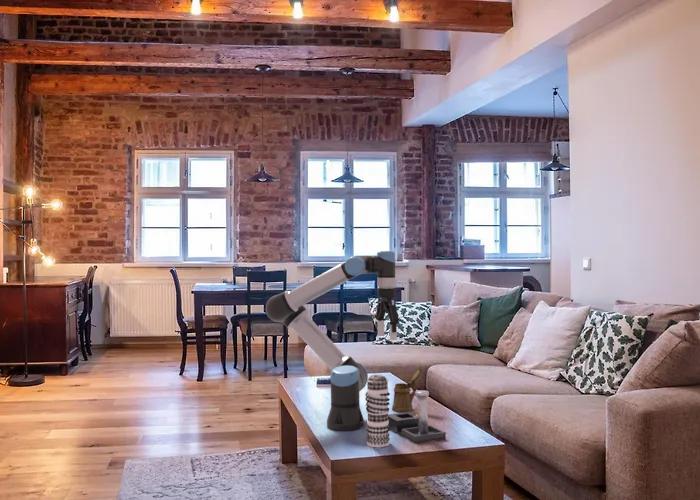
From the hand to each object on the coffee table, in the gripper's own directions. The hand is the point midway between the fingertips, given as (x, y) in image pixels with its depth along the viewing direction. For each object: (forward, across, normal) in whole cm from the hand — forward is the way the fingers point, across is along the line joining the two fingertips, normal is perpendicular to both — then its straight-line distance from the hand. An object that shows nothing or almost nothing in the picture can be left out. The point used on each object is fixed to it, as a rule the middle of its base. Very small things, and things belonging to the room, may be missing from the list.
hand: (387, 338), depth 274 cm
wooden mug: (+34, +12, -14) cm, 39 cm away
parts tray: (+34, -29, -3) cm, 45 cm away
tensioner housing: (+34, -15, -2) cm, 38 cm away
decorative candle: (+34, -30, +16) cm, 48 cm away
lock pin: (+33, -29, -3) cm, 44 cm away
